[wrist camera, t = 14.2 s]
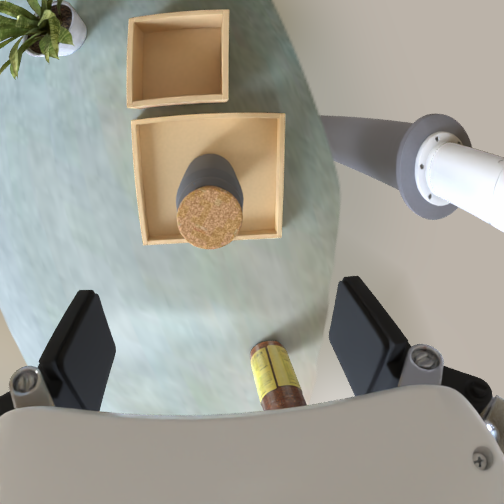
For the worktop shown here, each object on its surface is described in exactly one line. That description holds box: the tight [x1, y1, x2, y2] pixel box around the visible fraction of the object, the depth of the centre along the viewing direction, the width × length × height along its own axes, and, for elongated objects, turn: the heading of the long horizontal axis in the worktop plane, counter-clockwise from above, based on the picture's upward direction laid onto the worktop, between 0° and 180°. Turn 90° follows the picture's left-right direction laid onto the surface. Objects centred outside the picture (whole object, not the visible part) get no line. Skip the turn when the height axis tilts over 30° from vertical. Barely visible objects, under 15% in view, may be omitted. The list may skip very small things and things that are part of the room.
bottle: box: [176, 154, 244, 249], centre depth 27 cm, size 6×6×15 cm
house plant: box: [0, 0, 87, 80], centre depth 16 cm, size 14×14×16 cm
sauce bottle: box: [250, 341, 306, 411], centre depth 39 cm, size 6×6×20 cm
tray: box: [131, 113, 285, 245], centre depth 34 cm, size 17×15×2 cm
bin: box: [127, 10, 229, 109], centre depth 26 cm, size 10×10×5 cm
